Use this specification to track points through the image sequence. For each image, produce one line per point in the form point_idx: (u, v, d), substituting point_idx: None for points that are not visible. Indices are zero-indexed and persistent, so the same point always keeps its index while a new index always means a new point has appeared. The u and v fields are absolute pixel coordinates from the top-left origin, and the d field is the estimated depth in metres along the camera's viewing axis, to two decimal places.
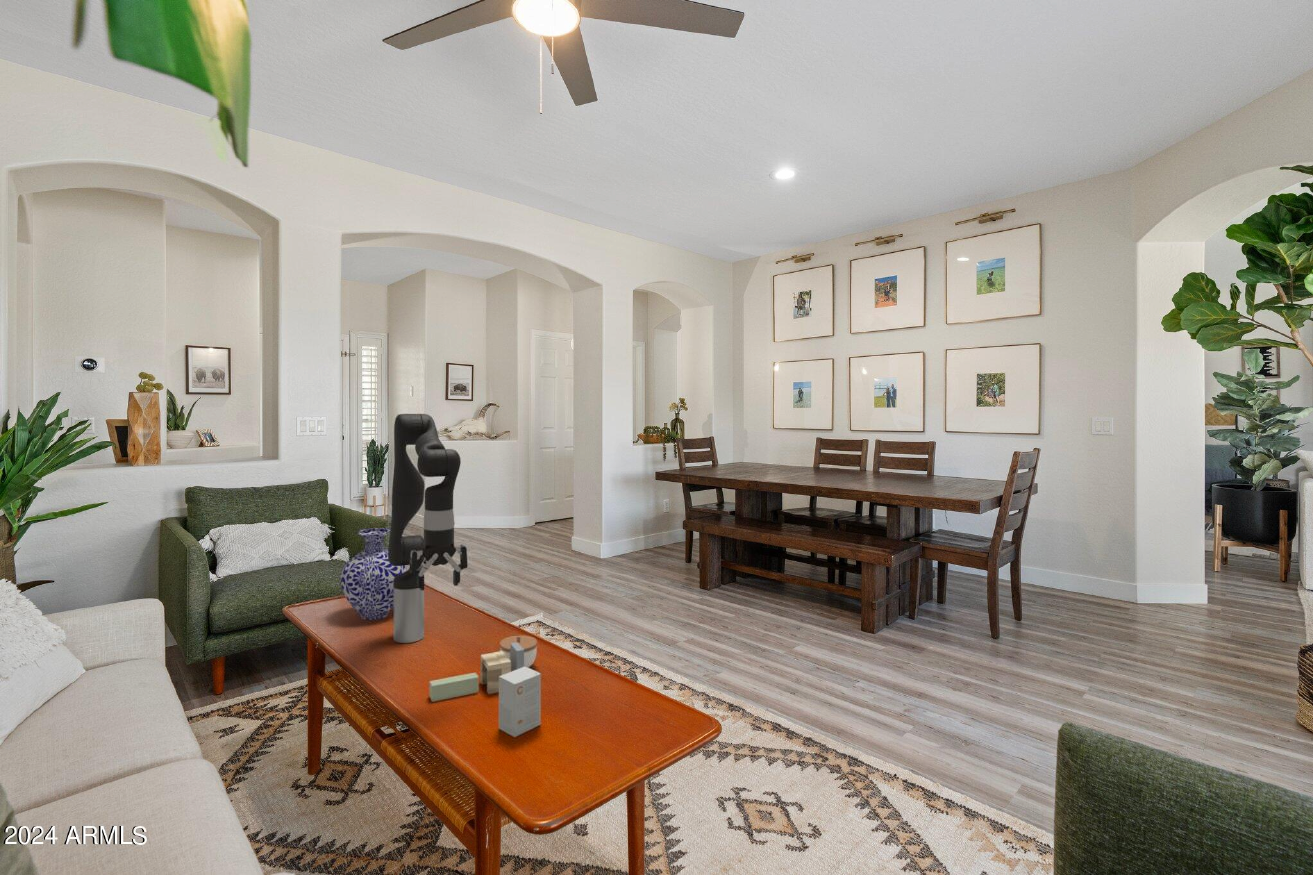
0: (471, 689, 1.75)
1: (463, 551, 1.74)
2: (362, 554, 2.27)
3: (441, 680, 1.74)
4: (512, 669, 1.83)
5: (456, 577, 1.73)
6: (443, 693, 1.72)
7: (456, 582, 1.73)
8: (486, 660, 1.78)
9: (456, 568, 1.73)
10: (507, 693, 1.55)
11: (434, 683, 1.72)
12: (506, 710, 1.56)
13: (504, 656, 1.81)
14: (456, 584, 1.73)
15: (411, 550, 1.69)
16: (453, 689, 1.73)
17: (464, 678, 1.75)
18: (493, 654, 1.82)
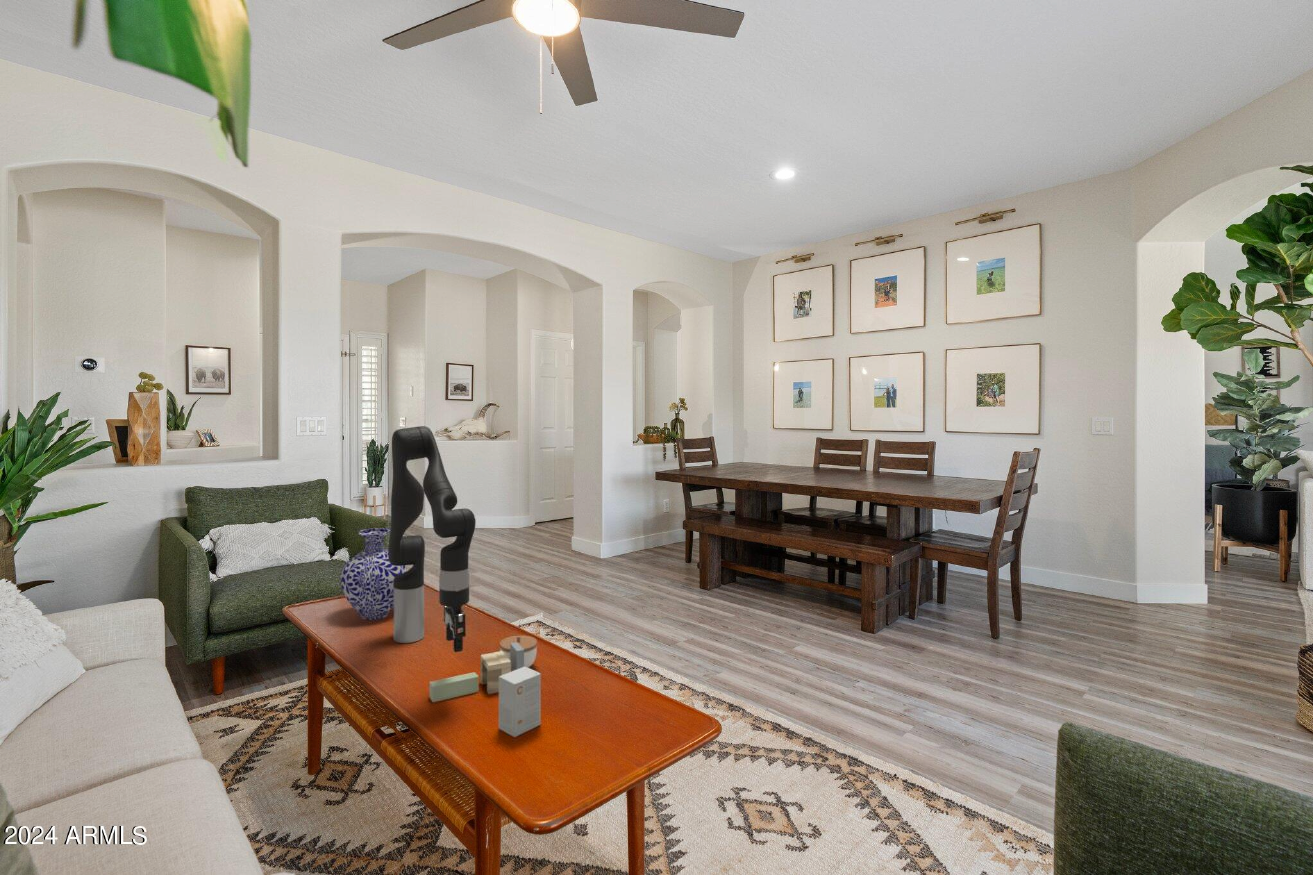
0: (471, 688, 1.76)
1: None
2: (362, 554, 2.27)
3: (441, 680, 1.73)
4: (512, 669, 1.83)
5: None
6: (443, 693, 1.72)
7: None
8: (486, 660, 1.78)
9: None
10: (507, 693, 1.55)
11: (434, 683, 1.72)
12: (506, 710, 1.56)
13: (504, 656, 1.81)
14: None
15: (456, 615, 1.67)
16: (453, 689, 1.73)
17: (464, 678, 1.75)
18: (493, 654, 1.82)
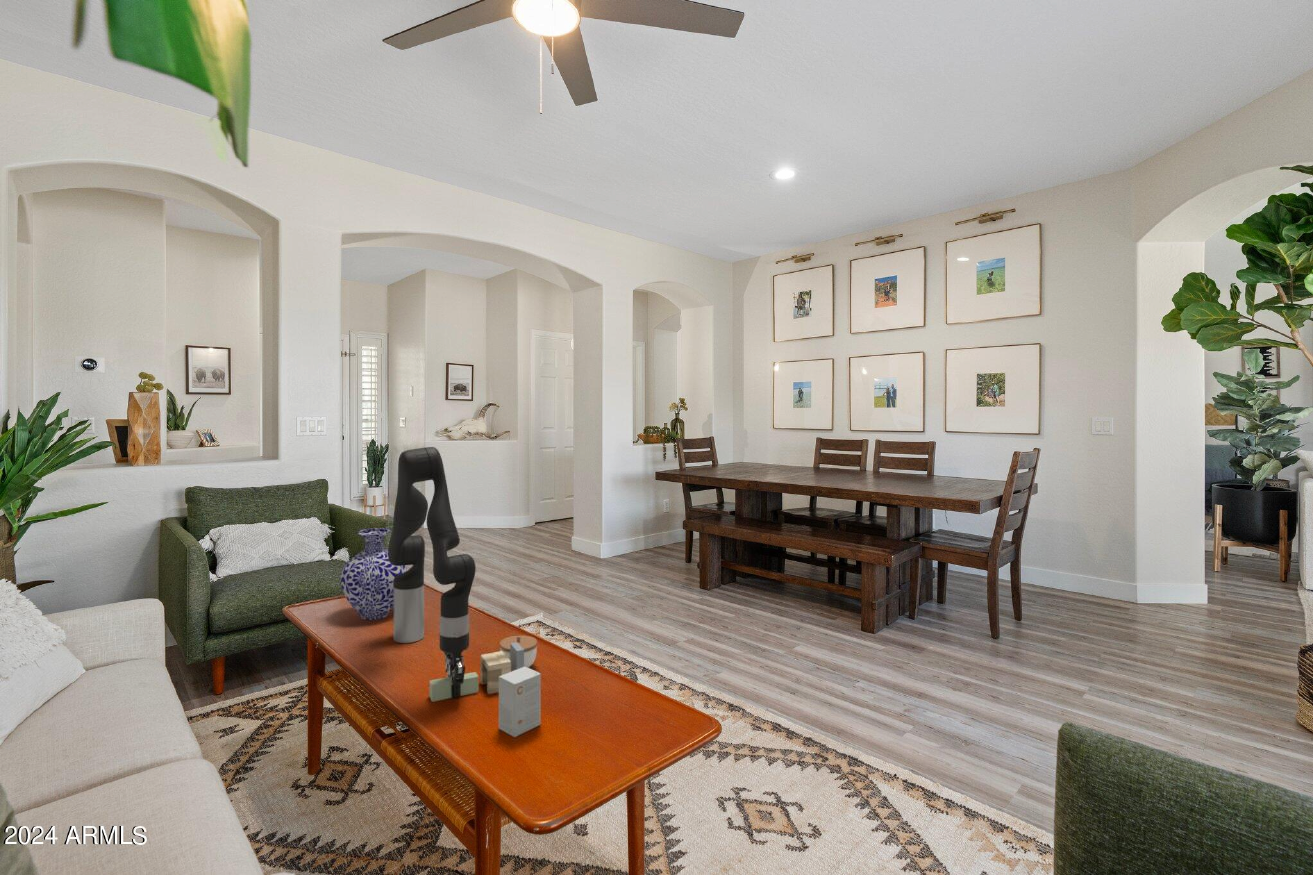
0: (471, 688, 1.75)
1: None
2: (362, 554, 2.27)
3: (441, 679, 1.74)
4: (512, 669, 1.83)
5: None
6: (443, 692, 1.72)
7: None
8: (486, 660, 1.78)
9: None
10: (507, 693, 1.55)
11: (434, 682, 1.72)
12: (506, 710, 1.56)
13: (504, 656, 1.81)
14: None
15: (456, 668, 1.68)
16: None
17: (464, 677, 1.75)
18: (493, 654, 1.82)
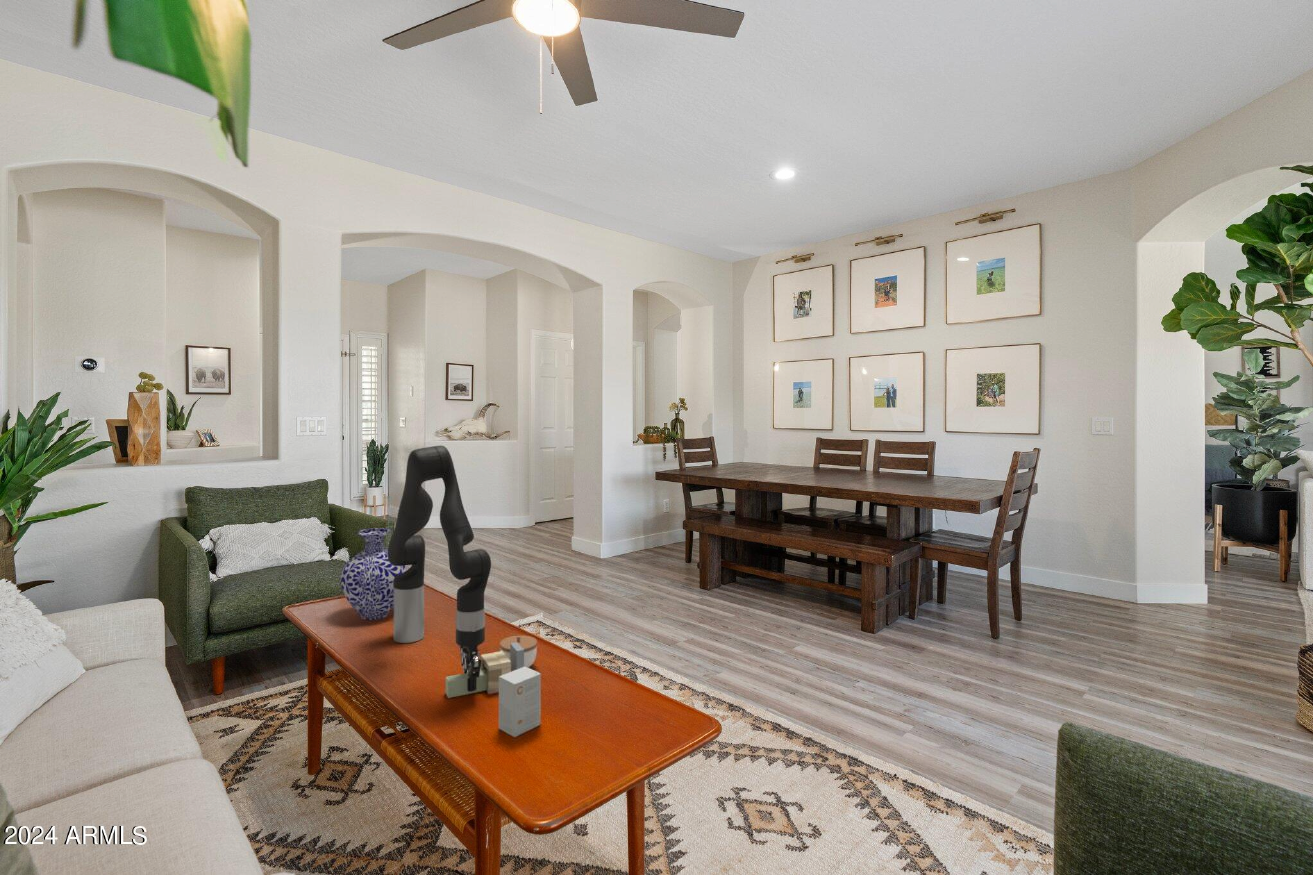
0: (486, 684, 1.77)
1: None
2: (362, 554, 2.27)
3: (457, 676, 1.76)
4: (512, 669, 1.83)
5: None
6: (459, 689, 1.74)
7: None
8: (486, 660, 1.78)
9: None
10: (507, 693, 1.55)
11: (450, 679, 1.74)
12: (506, 710, 1.56)
13: (504, 656, 1.81)
14: None
15: (472, 662, 1.70)
16: None
17: None
18: (493, 654, 1.82)
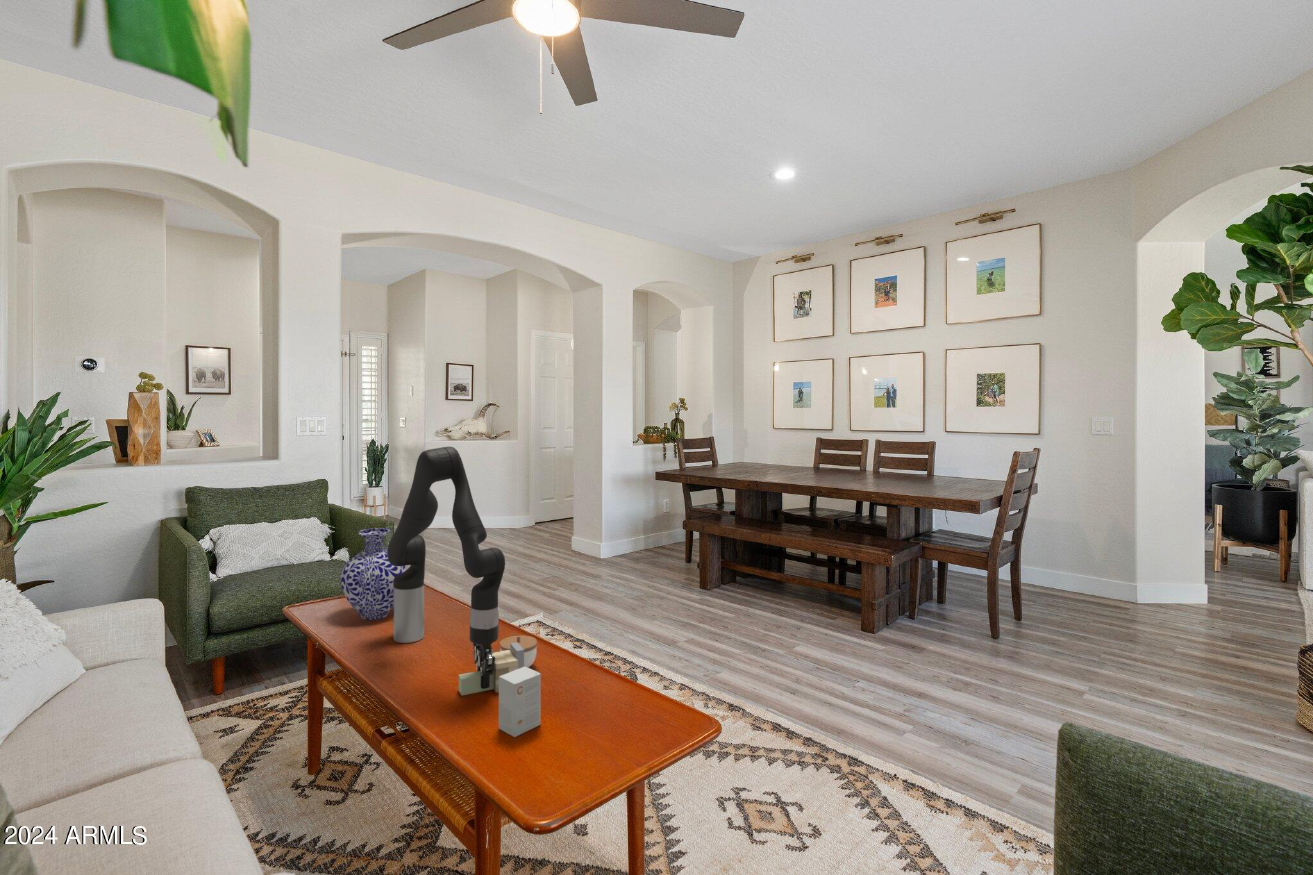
0: None
1: None
2: (362, 554, 2.27)
3: (470, 674, 1.77)
4: None
5: None
6: (472, 686, 1.76)
7: None
8: None
9: None
10: (507, 693, 1.55)
11: (463, 676, 1.75)
12: (506, 710, 1.56)
13: (511, 655, 1.82)
14: None
15: (486, 659, 1.72)
16: None
17: None
18: (500, 653, 1.83)
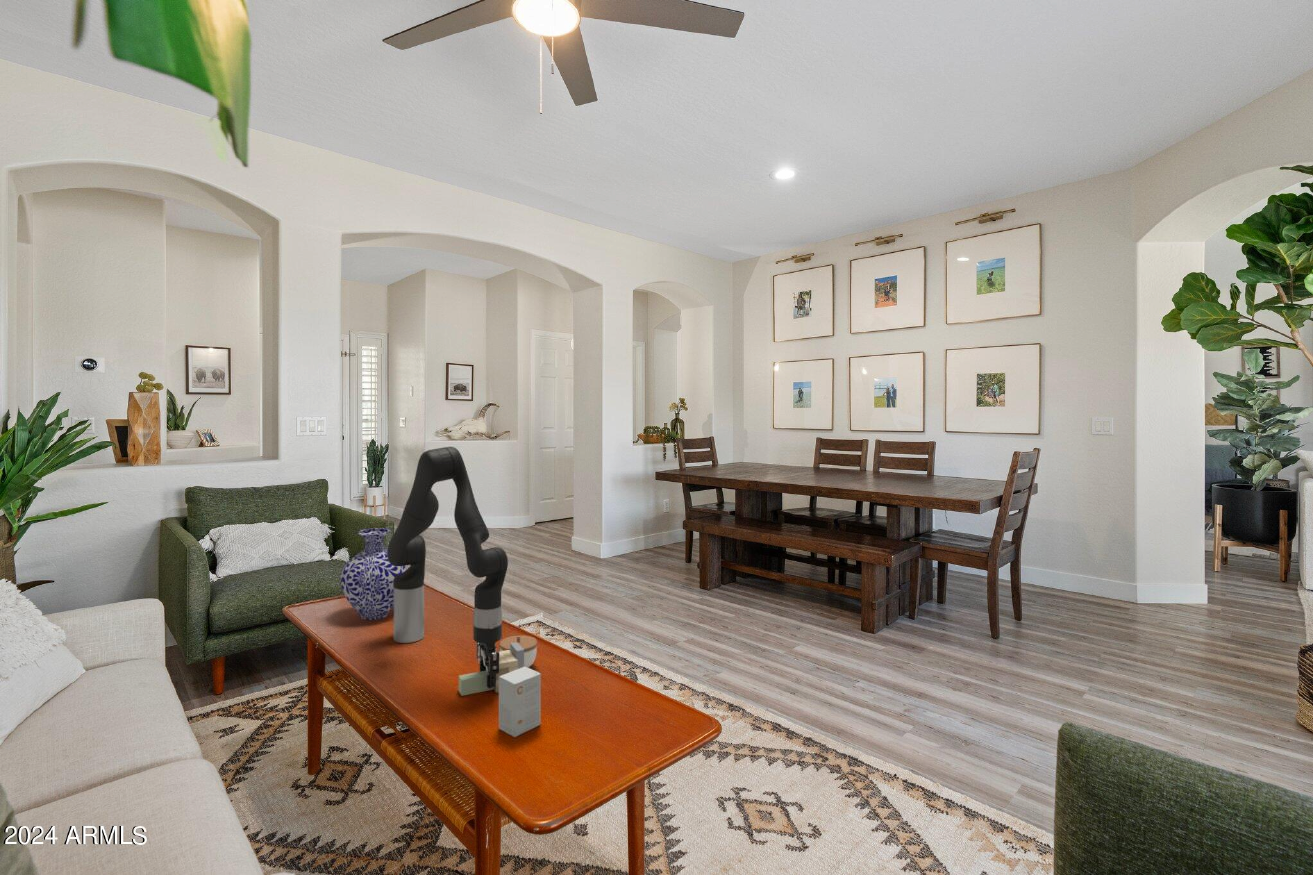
0: None
1: None
2: (362, 554, 2.27)
3: (470, 675, 1.77)
4: None
5: None
6: (472, 687, 1.76)
7: None
8: None
9: None
10: (507, 693, 1.55)
11: (463, 677, 1.75)
12: (506, 710, 1.56)
13: (511, 655, 1.82)
14: None
15: (490, 654, 1.72)
16: (481, 683, 1.77)
17: None
18: (500, 653, 1.83)
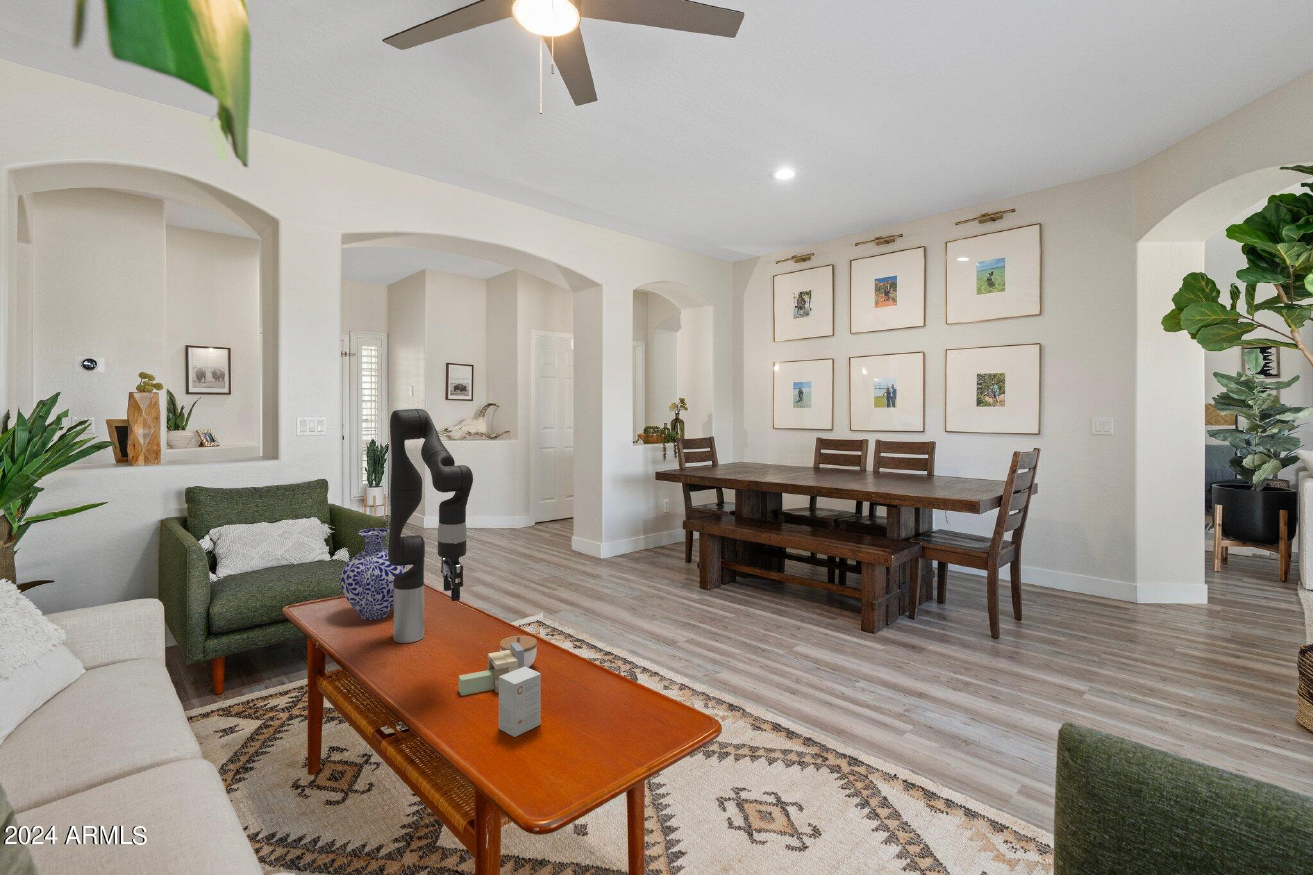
0: None
1: None
2: (362, 554, 2.27)
3: (470, 675, 1.77)
4: None
5: None
6: (472, 687, 1.76)
7: None
8: (493, 659, 1.79)
9: None
10: (507, 693, 1.55)
11: (463, 677, 1.76)
12: (506, 710, 1.56)
13: (511, 655, 1.82)
14: None
15: (454, 566, 1.75)
16: (481, 683, 1.77)
17: (492, 673, 1.79)
18: (500, 653, 1.83)
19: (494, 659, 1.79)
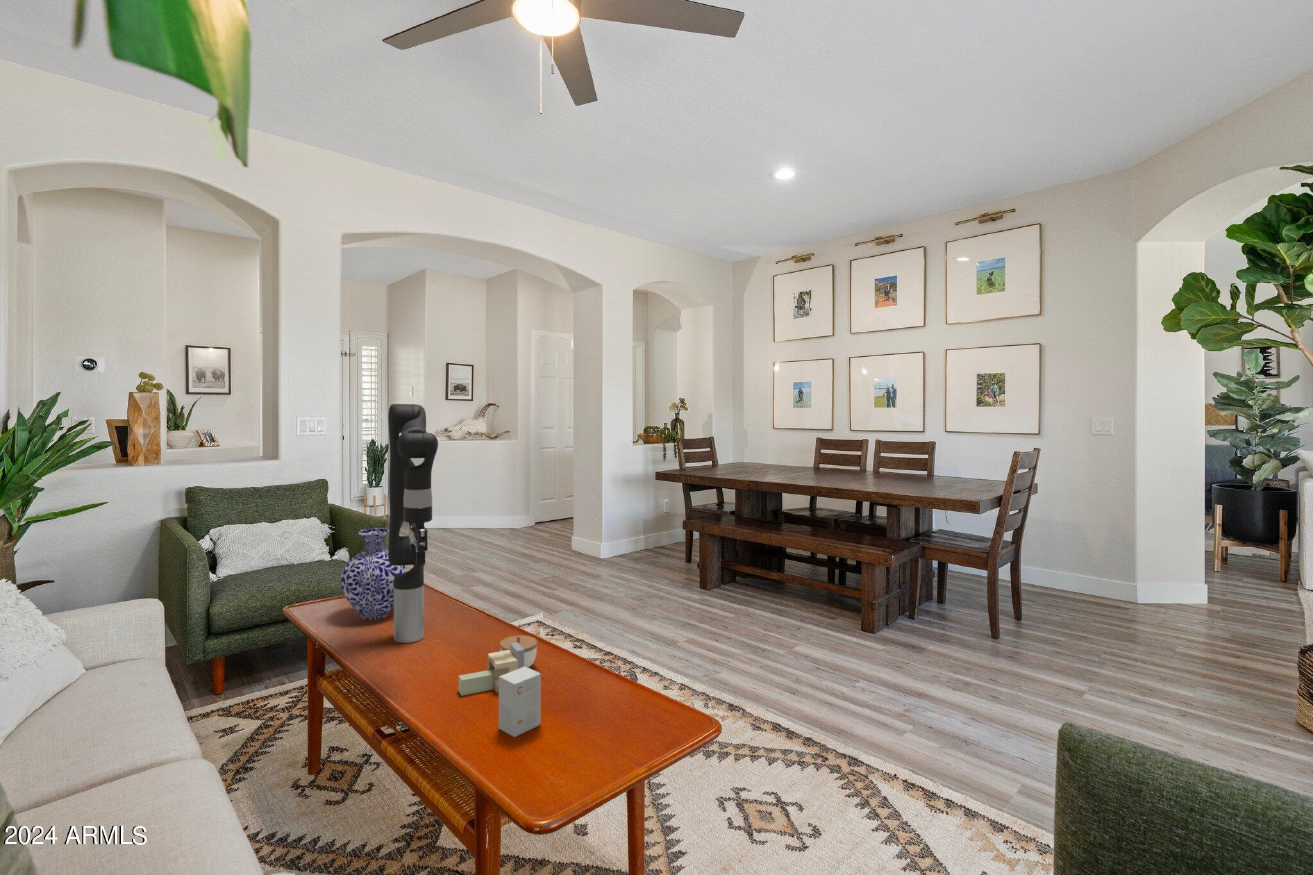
0: None
1: None
2: (362, 554, 2.27)
3: (470, 675, 1.77)
4: None
5: None
6: (471, 687, 1.76)
7: None
8: (493, 659, 1.79)
9: None
10: (507, 693, 1.55)
11: (463, 677, 1.76)
12: (506, 710, 1.56)
13: (511, 655, 1.82)
14: None
15: (418, 530, 1.78)
16: (481, 683, 1.77)
17: (492, 673, 1.79)
18: (500, 653, 1.83)
19: (494, 659, 1.79)
